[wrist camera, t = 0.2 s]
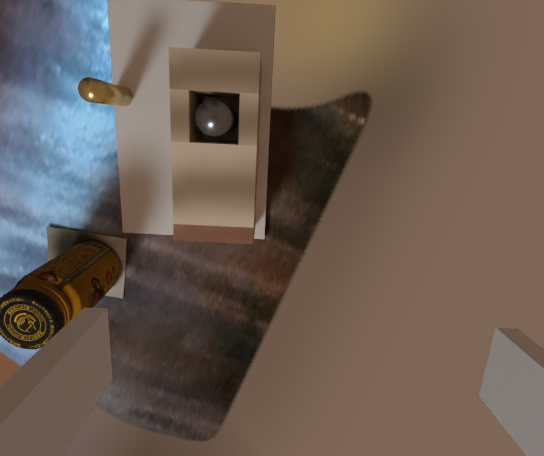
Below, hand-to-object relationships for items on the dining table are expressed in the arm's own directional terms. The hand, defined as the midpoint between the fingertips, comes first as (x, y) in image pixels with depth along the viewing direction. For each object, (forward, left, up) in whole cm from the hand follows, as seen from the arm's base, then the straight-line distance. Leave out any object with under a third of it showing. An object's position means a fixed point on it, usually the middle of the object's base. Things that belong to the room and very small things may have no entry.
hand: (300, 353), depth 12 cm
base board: (-7, -9, -26) cm, 29 cm away
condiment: (+8, -21, -27) cm, 35 cm away
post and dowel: (-8, -10, -26) cm, 30 cm away
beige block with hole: (-5, -6, -25) cm, 27 cm away
